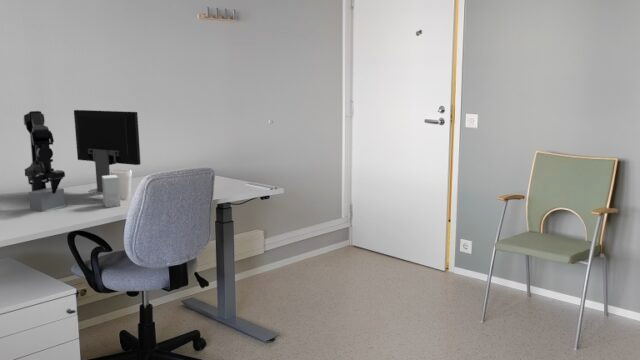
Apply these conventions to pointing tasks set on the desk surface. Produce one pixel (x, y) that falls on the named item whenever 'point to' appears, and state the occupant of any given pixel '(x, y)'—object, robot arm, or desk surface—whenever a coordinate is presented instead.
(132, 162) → the computer monitor
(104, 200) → the small box
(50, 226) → the desk surface
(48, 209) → the tape square
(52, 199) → the large grey box
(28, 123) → the robot arm
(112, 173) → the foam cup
